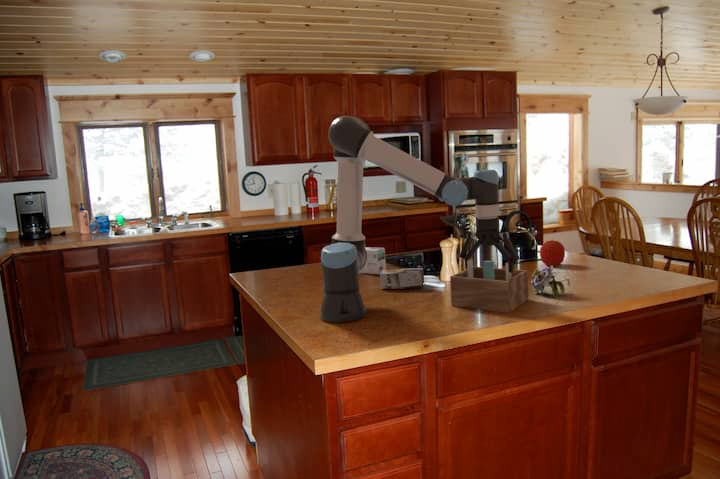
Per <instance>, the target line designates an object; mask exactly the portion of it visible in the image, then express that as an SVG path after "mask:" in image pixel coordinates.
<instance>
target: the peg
mask: <svg viewBox="0 0 720 479" xmlns="http://www.w3.org/2000/svg"><path fill="white" fill-rule="evenodd" d="M482 264H483V265H482V267H483V277H484V279H491V280H495V276H494V268H495V261H494V260H483V262H482Z"/></svg>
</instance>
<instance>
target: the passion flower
mask: <svg viewBox="0 0 720 479" xmlns="http://www.w3.org/2000/svg"><path fill="white" fill-rule="evenodd" d="M553 270H554V267H553V266H550V267H546V268H543V269H541V270H540V269H536V270H534V272H533V274H532V275H531V276H532V280H530V283H531V284H532V286H533V288H534V289H533V290H534V292H535V293H534V295H539V294H541V293H543V291H544V290H545V288H548V287H550V288H551V292H552V296H553V297H555V298H556V299H558V297H559V296H558V295H559V293H561V296H562V295H563V294H564V293H565V290H566V289H565V285H564V283H563V282H564V281H567V282H568V283H567V285H568V286H571V282H570V278H568V279H567V278H566V279H562V280H560V281H559V280H556V278H555V277H556V276H557V275H558V271H554V272H553ZM559 291H560V292H559Z"/></svg>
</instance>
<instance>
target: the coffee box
mask: <svg viewBox="0 0 720 479" xmlns="http://www.w3.org/2000/svg"><path fill="white" fill-rule="evenodd" d="M379 277H380V278H379V279H380V289H381V290H392V289H393V290H399V289H402V290H403V289H404V290H405V289H408V290H409V289H410V290H413V289H416V290H417V289H418V290H420V289H423V288H424V285H423V283H424V284H425V273H424V268H423V267H417V268H416V267H415V268H411V267H410V268H386V269H383V271H382V272H381V273H380V274H379Z"/></svg>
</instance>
